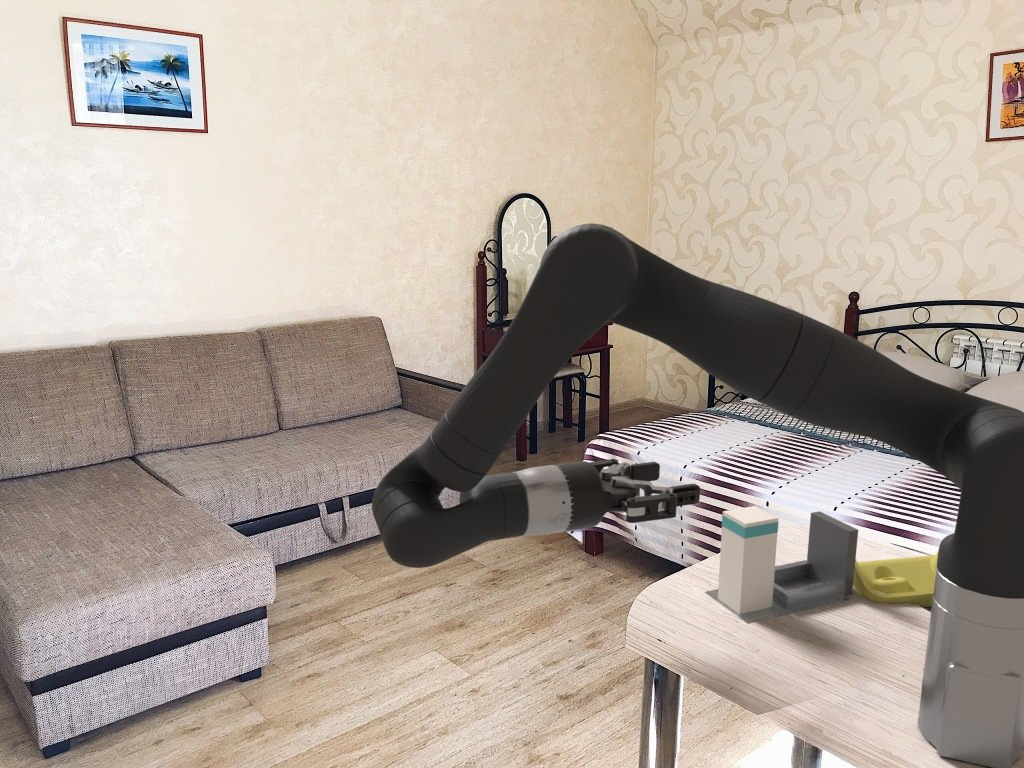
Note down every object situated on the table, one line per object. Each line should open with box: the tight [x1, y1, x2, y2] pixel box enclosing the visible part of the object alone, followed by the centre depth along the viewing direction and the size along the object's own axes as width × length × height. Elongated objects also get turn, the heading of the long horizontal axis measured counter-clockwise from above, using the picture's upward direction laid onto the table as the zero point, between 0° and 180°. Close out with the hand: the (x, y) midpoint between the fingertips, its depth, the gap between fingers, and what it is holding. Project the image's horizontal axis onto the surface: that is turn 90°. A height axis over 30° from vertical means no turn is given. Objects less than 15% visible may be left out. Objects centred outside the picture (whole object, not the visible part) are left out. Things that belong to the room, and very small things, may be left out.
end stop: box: [806, 511, 859, 597], centre depth 113 cm, size 2×7×10 cm, turn 22°
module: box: [717, 505, 779, 614], centre depth 107 cm, size 5×5×12 cm
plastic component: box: [853, 551, 938, 608], centre depth 114 cm, size 20×7×10 cm
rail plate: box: [704, 559, 850, 624], centre depth 110 cm, size 16×9×4 cm, turn 113°
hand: (677, 481), depth 101 cm, fingers open, 8 cm apart
